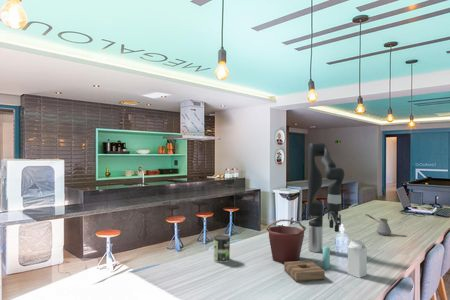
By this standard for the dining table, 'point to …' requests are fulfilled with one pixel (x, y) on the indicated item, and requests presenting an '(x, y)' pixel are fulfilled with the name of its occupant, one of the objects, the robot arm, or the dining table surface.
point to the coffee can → (221, 248)
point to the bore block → (304, 271)
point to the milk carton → (357, 258)
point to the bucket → (285, 241)
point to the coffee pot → (382, 227)
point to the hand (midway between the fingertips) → (334, 229)
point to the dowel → (326, 257)
